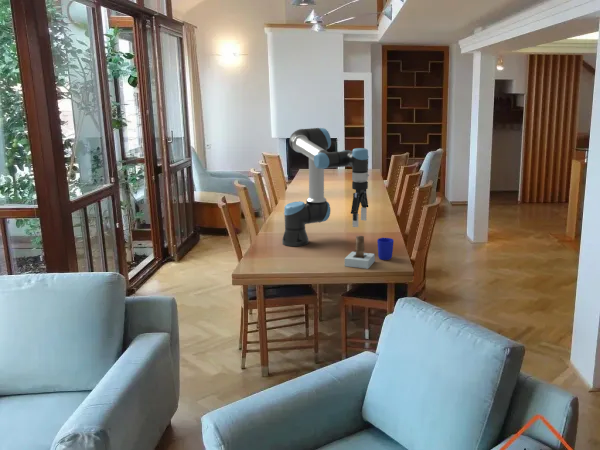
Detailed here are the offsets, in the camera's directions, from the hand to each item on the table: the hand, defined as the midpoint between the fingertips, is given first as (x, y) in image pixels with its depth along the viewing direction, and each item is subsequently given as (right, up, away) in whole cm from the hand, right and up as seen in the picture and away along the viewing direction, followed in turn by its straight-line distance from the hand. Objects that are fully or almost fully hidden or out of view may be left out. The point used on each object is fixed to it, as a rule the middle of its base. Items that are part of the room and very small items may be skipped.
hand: (359, 223), depth 253 cm
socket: (+1, -20, +5) cm, 21 cm away
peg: (+1, -20, +5) cm, 21 cm away
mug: (+15, -18, +14) cm, 27 cm away
